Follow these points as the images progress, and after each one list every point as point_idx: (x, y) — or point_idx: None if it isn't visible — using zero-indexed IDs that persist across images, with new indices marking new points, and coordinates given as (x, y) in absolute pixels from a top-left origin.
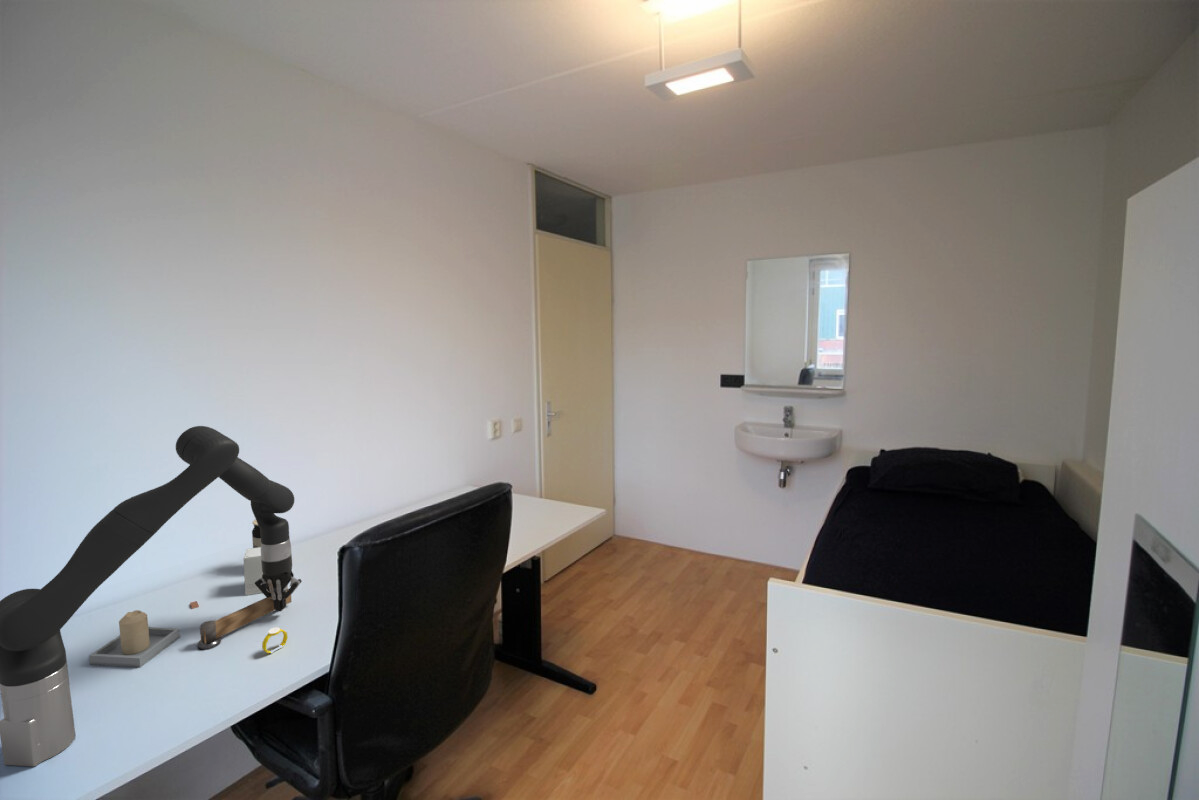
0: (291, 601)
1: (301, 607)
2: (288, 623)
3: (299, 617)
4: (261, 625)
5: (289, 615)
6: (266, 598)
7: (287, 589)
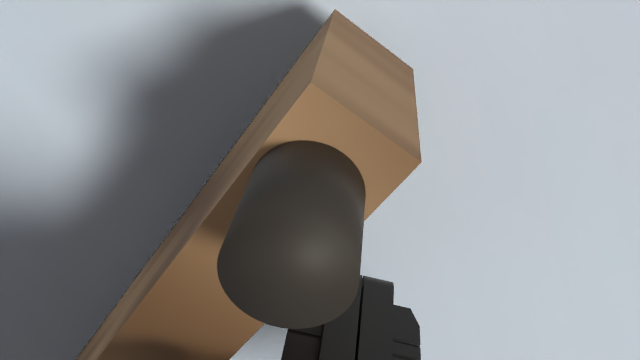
0: (412, 70)
1: (544, 96)
2: (469, 355)
3: (555, 286)
4: (244, 345)
5: (442, 239)
6: (138, 352)
7: (362, 193)
